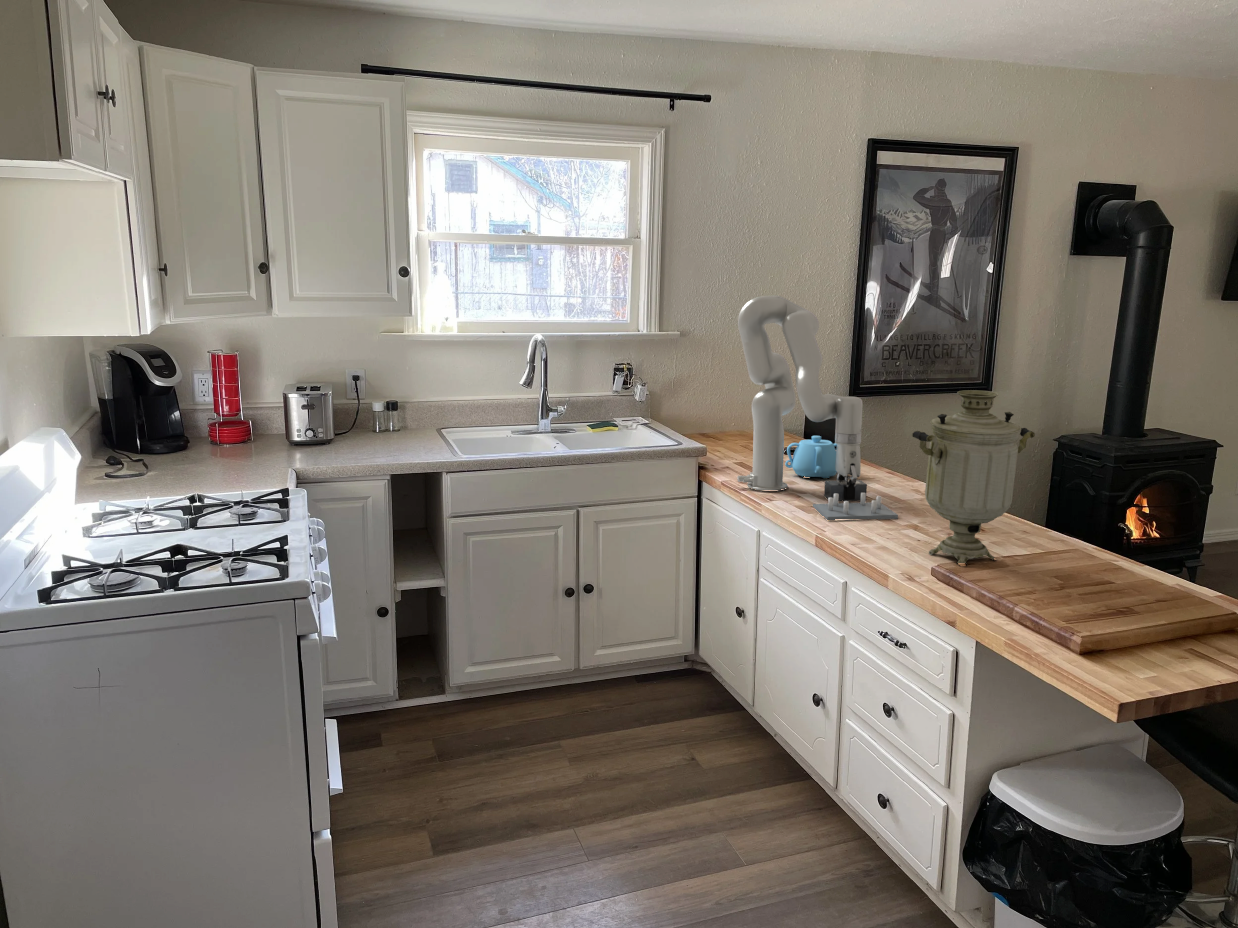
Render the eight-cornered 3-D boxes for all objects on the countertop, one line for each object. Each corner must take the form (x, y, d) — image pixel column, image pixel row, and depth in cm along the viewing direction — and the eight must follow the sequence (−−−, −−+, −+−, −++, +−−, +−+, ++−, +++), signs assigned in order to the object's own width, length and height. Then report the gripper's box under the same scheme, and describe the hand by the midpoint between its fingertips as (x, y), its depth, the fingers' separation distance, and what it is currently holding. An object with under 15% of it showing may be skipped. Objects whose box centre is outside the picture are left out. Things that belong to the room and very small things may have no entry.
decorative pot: (815, 468, 318) (817, 430, 315) (850, 477, 305) (851, 437, 302) (780, 474, 310) (781, 435, 307) (814, 483, 296) (815, 442, 293)
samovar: (996, 537, 236) (1009, 383, 228) (1046, 569, 211) (1062, 397, 202) (882, 539, 236) (891, 384, 227) (918, 572, 210) (929, 399, 202)
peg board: (827, 520, 252) (828, 504, 252) (812, 508, 266) (813, 492, 265) (897, 518, 254) (898, 502, 253) (879, 506, 268) (880, 490, 267)
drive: (830, 501, 273) (831, 484, 272) (824, 496, 279) (824, 480, 278) (866, 500, 274) (867, 483, 273) (858, 495, 280) (859, 479, 279)
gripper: (870, 443, 265) (867, 503, 269) (850, 433, 282) (848, 489, 285) (845, 444, 264) (842, 504, 268) (826, 433, 281) (824, 490, 285)
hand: (845, 496), depth 277 cm, fingers closed on drive, 6 cm apart
